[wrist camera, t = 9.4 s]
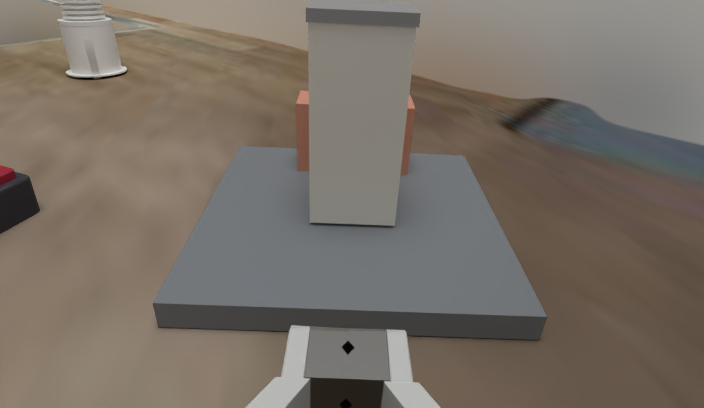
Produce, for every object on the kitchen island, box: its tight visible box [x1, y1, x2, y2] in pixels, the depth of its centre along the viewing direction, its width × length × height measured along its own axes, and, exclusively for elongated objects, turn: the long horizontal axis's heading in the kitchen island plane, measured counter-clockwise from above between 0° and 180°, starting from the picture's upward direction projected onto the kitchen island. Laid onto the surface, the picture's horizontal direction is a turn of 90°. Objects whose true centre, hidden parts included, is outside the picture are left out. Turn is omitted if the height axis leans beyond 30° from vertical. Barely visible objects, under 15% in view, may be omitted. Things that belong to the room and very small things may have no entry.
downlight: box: [58, 0, 127, 79], centre depth 55 cm, size 8×7×10 cm
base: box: [153, 91, 547, 340], centre depth 27 cm, size 18×18×6 cm
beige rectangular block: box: [306, 0, 420, 226], centre depth 25 cm, size 5×4×12 cm
